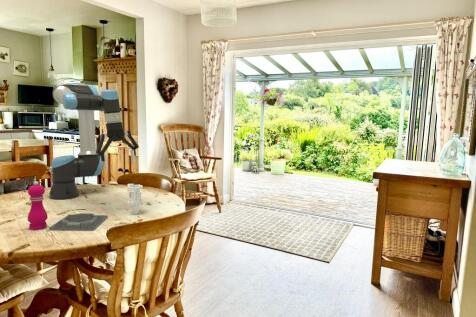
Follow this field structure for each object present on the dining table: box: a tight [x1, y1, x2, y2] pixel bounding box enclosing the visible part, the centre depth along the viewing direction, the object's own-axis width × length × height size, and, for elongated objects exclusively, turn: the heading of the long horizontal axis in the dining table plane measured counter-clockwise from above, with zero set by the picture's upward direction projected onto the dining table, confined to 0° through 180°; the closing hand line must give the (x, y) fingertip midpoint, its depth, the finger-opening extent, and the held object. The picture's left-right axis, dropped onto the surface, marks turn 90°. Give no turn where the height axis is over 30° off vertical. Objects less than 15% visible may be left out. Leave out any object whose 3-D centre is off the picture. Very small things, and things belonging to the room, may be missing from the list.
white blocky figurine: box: [127, 183, 143, 215], centre depth 161 cm, size 7×7×15 cm
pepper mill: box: [27, 180, 48, 231], centre depth 137 cm, size 7×7×20 cm
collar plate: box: [48, 212, 109, 232], centre depth 145 cm, size 18×18×2 cm
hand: (120, 165), depth 161 cm, fingers open, 13 cm apart
